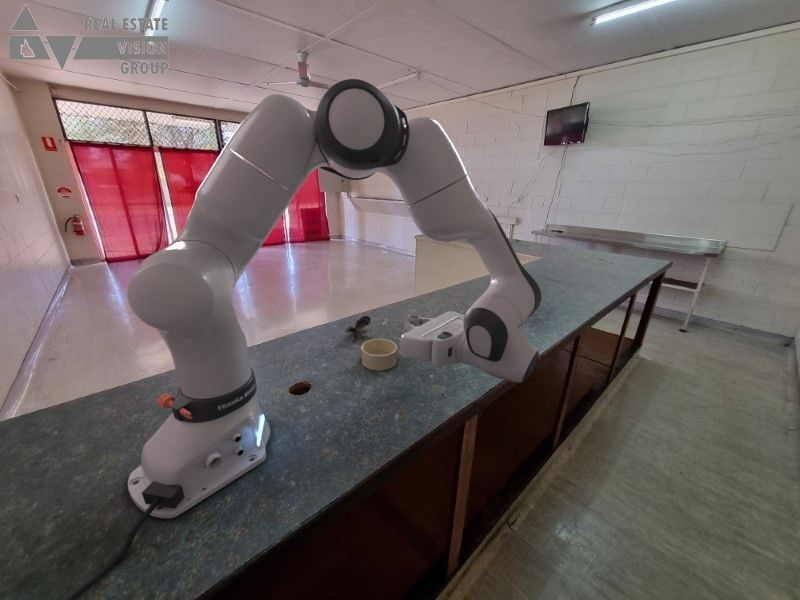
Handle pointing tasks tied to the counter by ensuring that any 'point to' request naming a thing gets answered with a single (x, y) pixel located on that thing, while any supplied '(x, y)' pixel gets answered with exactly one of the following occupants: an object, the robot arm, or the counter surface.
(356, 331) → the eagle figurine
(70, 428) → the counter surface
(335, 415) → the counter surface
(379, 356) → the beige round bowl
